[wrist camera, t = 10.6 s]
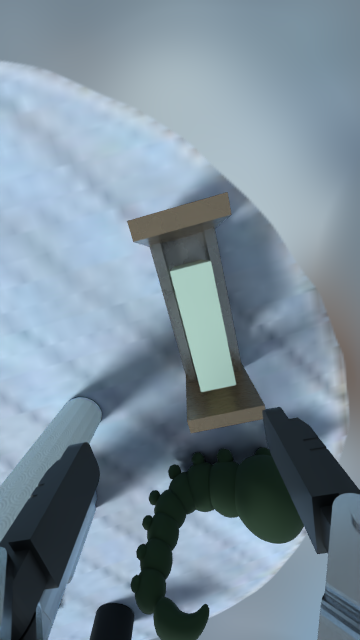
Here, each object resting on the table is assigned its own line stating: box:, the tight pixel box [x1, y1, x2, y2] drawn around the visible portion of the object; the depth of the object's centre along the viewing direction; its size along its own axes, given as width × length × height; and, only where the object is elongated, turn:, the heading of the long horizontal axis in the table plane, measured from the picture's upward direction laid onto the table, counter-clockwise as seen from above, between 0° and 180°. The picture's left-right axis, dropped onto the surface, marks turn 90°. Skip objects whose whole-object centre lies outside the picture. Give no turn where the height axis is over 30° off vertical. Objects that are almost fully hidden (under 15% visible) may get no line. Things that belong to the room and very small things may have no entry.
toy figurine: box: [131, 447, 304, 640], centre depth 28 cm, size 9×19×25 cm
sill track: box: [127, 192, 265, 433], centre depth 24 cm, size 21×8×10 cm, turn 14°
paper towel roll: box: [0, 397, 102, 542], centre depth 24 cm, size 7×6×21 cm
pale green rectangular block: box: [170, 260, 236, 392], centre depth 24 cm, size 12×4×9 cm, turn 14°
